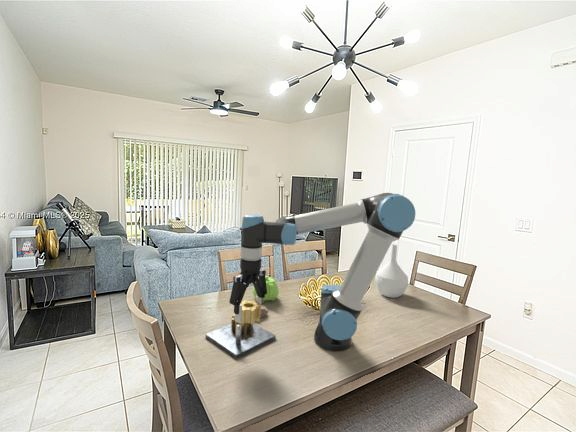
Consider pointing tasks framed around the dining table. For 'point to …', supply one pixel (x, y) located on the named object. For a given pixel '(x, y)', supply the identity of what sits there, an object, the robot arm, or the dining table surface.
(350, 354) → the dining table surface
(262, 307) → the stone
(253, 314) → the planet gear
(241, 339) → the plate
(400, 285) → the vase
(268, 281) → the teapot
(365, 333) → the dining table surface
